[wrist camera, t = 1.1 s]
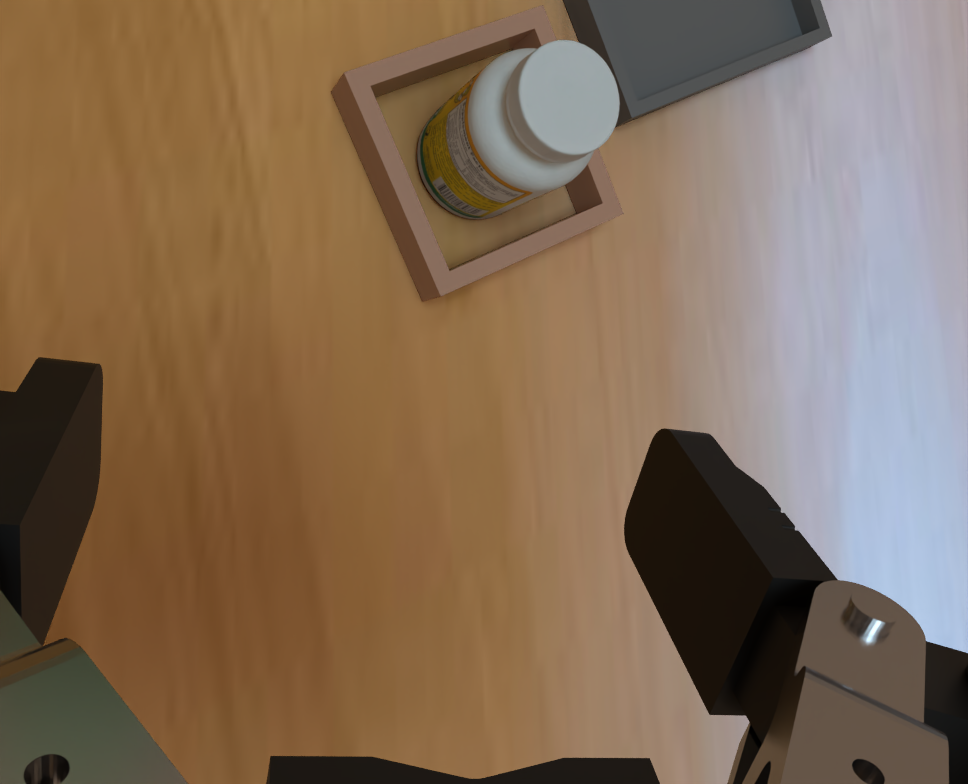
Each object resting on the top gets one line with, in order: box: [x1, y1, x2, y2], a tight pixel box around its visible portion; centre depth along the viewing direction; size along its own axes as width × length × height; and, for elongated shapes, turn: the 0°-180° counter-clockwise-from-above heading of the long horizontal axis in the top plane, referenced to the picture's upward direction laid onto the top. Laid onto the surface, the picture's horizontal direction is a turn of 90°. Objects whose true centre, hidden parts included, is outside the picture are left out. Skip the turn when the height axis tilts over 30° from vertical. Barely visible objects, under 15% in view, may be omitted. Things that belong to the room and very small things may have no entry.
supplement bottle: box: [417, 40, 620, 219], centre depth 35 cm, size 5×5×10 cm
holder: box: [331, 5, 624, 301], centre depth 38 cm, size 10×10×2 cm
